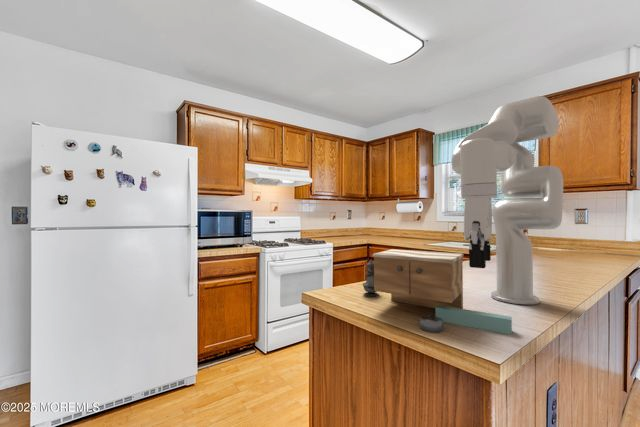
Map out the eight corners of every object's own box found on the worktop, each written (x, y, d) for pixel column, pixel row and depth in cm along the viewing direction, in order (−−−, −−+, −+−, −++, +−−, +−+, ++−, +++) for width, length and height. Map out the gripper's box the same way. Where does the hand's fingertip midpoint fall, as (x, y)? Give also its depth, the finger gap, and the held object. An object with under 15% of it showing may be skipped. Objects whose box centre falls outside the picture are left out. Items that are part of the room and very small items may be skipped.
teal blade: (437, 318, 76) (437, 304, 76) (511, 332, 67) (511, 316, 67) (435, 321, 74) (435, 307, 74) (511, 335, 65) (511, 319, 65)
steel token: (425, 323, 72) (425, 314, 72) (446, 329, 68) (446, 318, 68) (416, 329, 68) (416, 319, 68) (438, 335, 65) (438, 324, 65)
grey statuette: (362, 297, 95) (362, 260, 95) (362, 292, 101) (362, 257, 101) (380, 297, 94) (380, 260, 94) (380, 293, 100) (379, 258, 100)
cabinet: (393, 298, 93) (392, 249, 93) (464, 310, 81) (463, 253, 81) (371, 311, 81) (371, 254, 81) (452, 327, 69) (451, 260, 69)
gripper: (467, 193, 79) (469, 257, 79) (453, 192, 65) (456, 269, 65) (500, 192, 74) (501, 259, 75) (492, 190, 60) (495, 272, 61)
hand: (480, 263), depth 70 cm, fingers open, 9 cm apart
